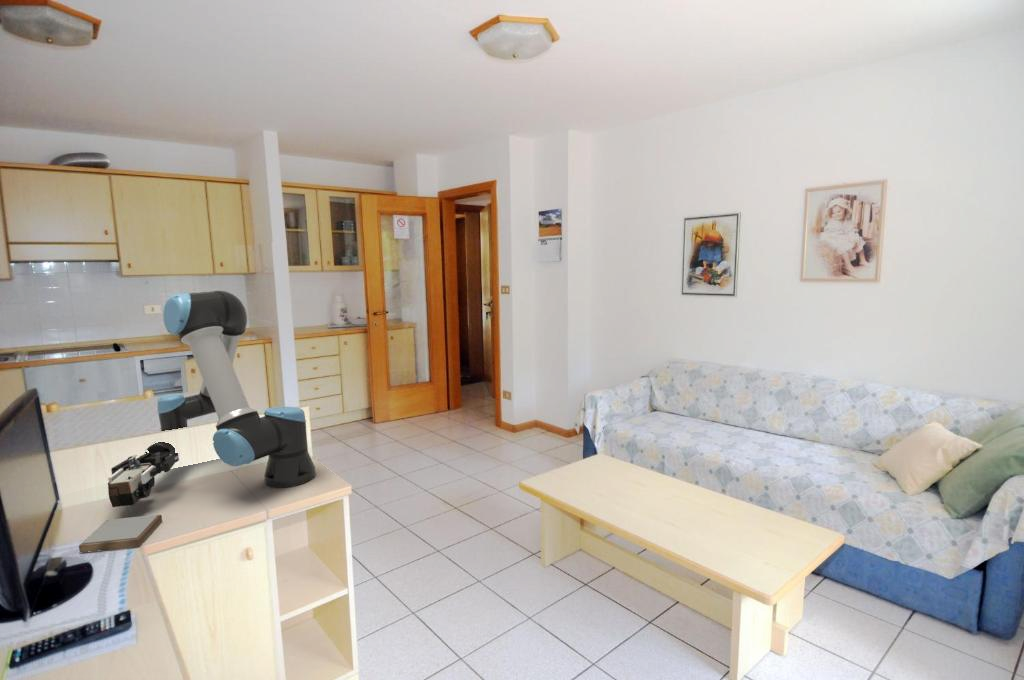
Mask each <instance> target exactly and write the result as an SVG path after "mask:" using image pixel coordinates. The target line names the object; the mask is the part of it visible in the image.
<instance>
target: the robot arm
mask: <svg viewBox="0 0 1024 680" xmlns="http://www.w3.org/2000/svg"><path fill="white" fill-rule="evenodd" d="M162 313H163V315H162V317H163V323H164V327H165V329H166V331H167V332H168V333H169V334H170V335H174V336H178V337H179V340H180V342H181V343H182V344H185V345H187V346H188V347H189V348H190V350H191V351H190V352H191V353H192V356H193V359H194V361H195V363H196V365H197V368H198V371H199V373H200V375H201V378H202V381H201V387H200V391H199V393H198V394H194V395H190V396H186V397H184V395H183V394H182V393H177V392H176V393H168V394H164V395H161V396H159V398H158V399H157V413H158V418H159V425H160V432H161V431H165V430H172V429H178V428H183V427H188V420H192V419H195V418H199V417H203V416H206V415H210V414H211V415H212V414H214V413H216V415H217V418H218V421H217V423H216V425H215V428H216V432H214V434H213V435H212V441H213V443H212V445H213V449H214V451H215V453H216V455H217V457H218V458H219V459H220V461H222V462H223V463H225V464H227V465H228V466H230V467H240V466H243V465H247V464H248V465H249V464H251V463H252V462H255V461H258V460H261V459H262V458H265V457H267V456H268V460H267V464H266V468H265V472H264V483H265V485H267V486H268V487H271V488H290V487H289V486H291V487H294V485H296V486H298V484H300V485H302V484H301V483H303V482H305V483H307V482H306V481H308V480H309V481H311V480H312V479H314V478H315V477H316V475H315V474H316V472H317V471H316V466H315V463H314V462H313V459H312V457H311V455H310V452H309V448H308V437H307V436H308V435H307V420H306V416H305V415H306V414H305V411H304V410H303V409H302V408H300V407H297V406H275V407H274V406H273V407H268V408H266V409H265V410H264V412H263V415H264V416H261V417H260V414H259V412H258V410H256V409H253V408H251V407H250V405H249V403H248V400H247V398H246V394H245V393H244V390H243V388H242V386H241V382H240V380H239V378H238V375H237V373H236V371H235V368H234V367H233V364H234V363H233V362H234V360H235V356H236V352H237V349H238V345H239V341H240V337H241V336H243V335H244V334H245V332H246V328H247V326H248V325H247V324H248V315H247V310H246V308H245V306H244V303H243V302H242V301H241V300H240V298H239V297H237V296H236V295H234V294H233V293H231V292H229V291H226V290H213V291H202V292H201V291H200V292H184V293H179V294H178V293H177V294H173V295H171V296H170V297H168V298H167V300H166V302H165V303H164V308H163V312H162ZM154 443H155V442H154ZM152 444H153V443H152ZM152 444H150V446H148V447H147V448H146V450H148V451H149V453H147V452H146V451H145V452H144V454H143V455H140V456H139V457H135V458H136V461H137V460H138V461H139V462H140V464H144V463H151V465H152V466H151V467H149V468H148V469H147V470H146V471H145V472H143V473H142V474H141V480H142V484H145V483H146V482H148V481H149V480H150V479H151V478H152V477H153V476H154V477H155V476H157V475H159V474H162V472H164V473H169V471H170V470H171V469H172V468H173V466H175V463H178V461H180V457H179V454H178V453H175V448H174V447H173V446H172V445H171V444H169V443H165V442H158V443H155V444H153V445H152ZM145 453H146V454H145ZM132 456H133V455H132ZM132 456H131V455H130V456H129V457H127V459H125V460H124V461H122V462H120V463H118V464H117V465H115V466H113V467H111V469H110V471H111V475H110V476H109V477H107V479H108V482H112V481H113V480H114V479H116V478H117V477H118V476H119V475H120V474H122V473H123V472H124V471H125V470H126V469H127V468H129V466H128V460H129V459H130V458H131V457H132ZM130 463H131V465H134V461H133V460H132V461H131V462H130ZM313 477H314V478H313ZM311 478H312V479H311ZM310 479H311V480H310ZM309 481H308V482H309ZM303 484H304V483H303Z"/></svg>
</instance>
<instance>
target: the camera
mask: <svg viewBox="0 0 1024 680" xmlns="http://www.w3.org/2000/svg"><path fill="white" fill-rule="evenodd" d="M137 457H138V454H135V455H132V457H131V458H130V459H129V460H128V466H129V468H127V469H126V470H125V471H124V472H123V473H122V474H120V475H119V476H118V477H117V478H116V479H114V480H113V481H112V482H109V481H108V482H107V489H108V490H107V491H108V499H109V502H110V505H111V507H112V508H119V507H127V506H128V507H131V506H134V505H136V504H137V503H138V502H139V501H140V500H142V499H145V498H149V497H150V496H151V489H152V488H154V487H155V481H156V479H155V476H153V477H152V478H151V479H150V480H149V481H148V482H146V483H145V484H142V480H141V474H142V473H143V472H145V471H146V470H147V469H148V468H149V467H151V466H152V465H151V463H144V464H140V462H139V461H138V460H137V461H136V458H137ZM132 460H133V461H134V465H131V463H130V462H131V461H132Z"/></svg>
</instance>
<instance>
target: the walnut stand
mask: <svg viewBox="0 0 1024 680" xmlns="http://www.w3.org/2000/svg"><path fill="white" fill-rule="evenodd" d="M162 522H163V516H162V514H154V515H153V514H152V515H142V516H133V517H131V516H130V517H124V518H123V517H121V518H111V519H110V518H109V519H107V520H106V521H105V522H103V523H102V524H101V525H100V526H99V527H98V528H97V529H96V530H95V531H93V532H92V533H91V534H90V535H89V536H88V537H87V538H85V539H84V540H83V542H81V543H80V544H79V545H78V550H79V553H80V552H88V551H97V552H102V551H101V550H106V551H115V550H123V549H133V548H140V547H141V546H142V545H143V543H145V541H146V540H147V539H148V538H149V537H150V536H151V535H152V533H154V531H155V530H156V529H157V528H158V527H159V526H160V525H161V524H162ZM114 549H115V550H114ZM98 550H100V551H98ZM88 553H89V552H88Z"/></svg>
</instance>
